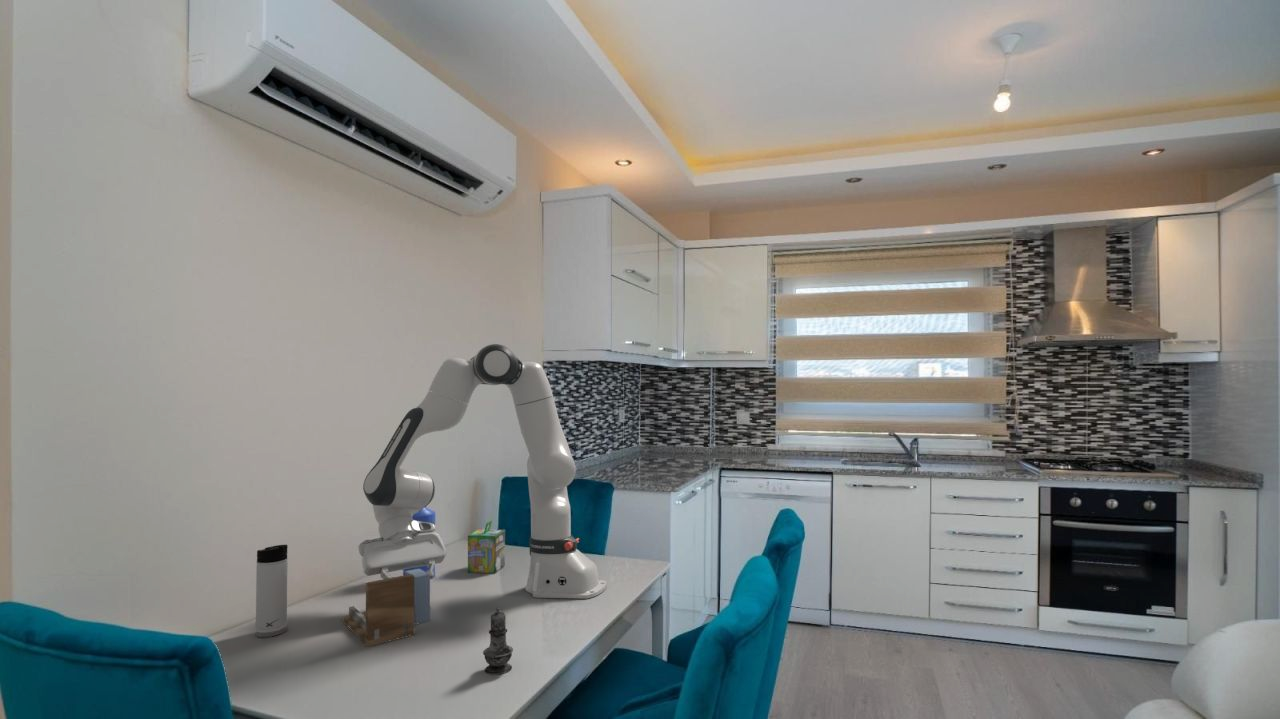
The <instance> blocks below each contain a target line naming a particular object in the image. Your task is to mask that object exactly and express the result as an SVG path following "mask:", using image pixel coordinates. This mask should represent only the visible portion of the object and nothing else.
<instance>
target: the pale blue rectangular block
mask: <svg viewBox="0 0 1280 719" xmlns="http://www.w3.org/2000/svg"><path fill="white" fill-rule="evenodd" d="M409 574H412V575H414V623H415V624H414V625H418V624H417V623H419V624H423V623H426V621H427V622H430V620H431V579H430V574H428V573H426V572H424V571H423V570H421V569H415V570H409V571H405V575H409ZM422 622H423V623H422Z"/></svg>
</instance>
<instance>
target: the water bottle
mask: <svg viewBox="0 0 1280 719" xmlns="http://www.w3.org/2000/svg"><path fill="white" fill-rule="evenodd" d="M412 518H413V520H415V521H420V522H426V523H432V524H434V525H436V511H435V510H433V509H430V508H428V507H427V506H426V507H425V508H423V509H422V510H421V511H420V512H418V513H416V514H414V515H413V516H412ZM415 569H421V570H423V571H424V572H427V571H428V570H429V569H430V568H427V565H426V566H420V567H415V568H409V569H404V570H402V576H404V575H405V571H409V570H415ZM433 573H434V577H433V579H434V578H435V577H436V564H435V565H434V568H433Z"/></svg>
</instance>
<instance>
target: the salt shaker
mask: <svg viewBox="0 0 1280 719" xmlns="http://www.w3.org/2000/svg"><path fill="white" fill-rule="evenodd" d="M507 633H508V629H507V628H506V614H505V613H504V611H500V608H499V607H497V608H496V611H495V612H493V613H492V614H491V616H490V630H489V631H488V634H489V636H490V637H489V638H490V639H489V640H490V643H489V646H488V647H486V648H485V649H484V650H483V651H482V654H483V655H484V659H485V661H486V663H487V664H488V665H487V666H485V668H484V672H485V673H486V674H487V675H490V676H500V675H504V674H507V673H509V672H510V671H512V669H513V667H512V664H510V663H508V662H509V661H510V660H511V658H512V656H513V655H512V654H513V652H514V648H513V647H512V646H511V645H508V643H507Z"/></svg>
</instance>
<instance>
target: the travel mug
mask: <svg viewBox="0 0 1280 719" xmlns="http://www.w3.org/2000/svg"><path fill="white" fill-rule="evenodd" d="M288 548H289V547H288V544H278V545H273V546H272V545H271V546H268V547H267V546H266V547H265V548H264V549H258V550H257V551H256V572H255V573H256V574H255V575H256V576H255V578H256V579H255V580H256V581H255V582H256V583H255V589H256V590H255V636H256V637H258V638H262V637H265V638H271V637H272V636H273V637H276V635H277V636H280V635H282V634H284V633H285V632H286V631H287V630H288V624H287V622H288V559H289V558H288ZM279 634H280V635H279Z"/></svg>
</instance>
